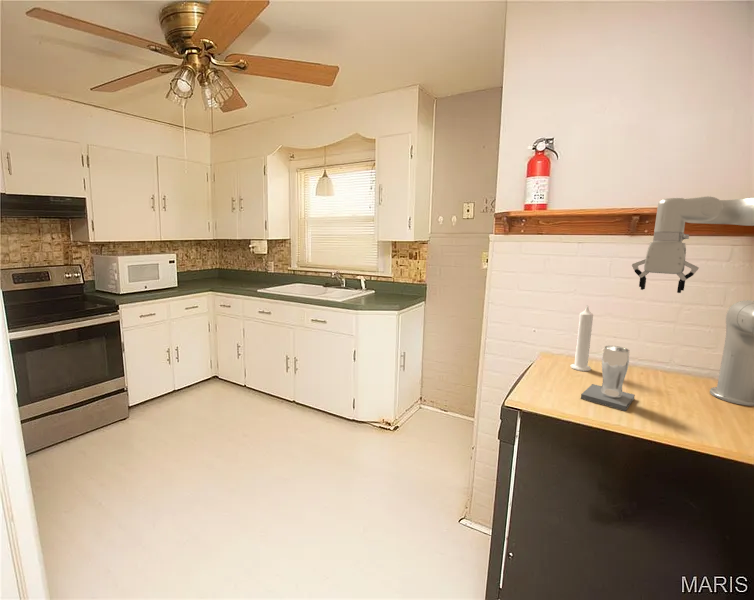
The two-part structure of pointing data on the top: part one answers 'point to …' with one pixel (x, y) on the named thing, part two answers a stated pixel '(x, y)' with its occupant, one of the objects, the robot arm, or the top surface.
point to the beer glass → (614, 370)
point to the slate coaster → (607, 398)
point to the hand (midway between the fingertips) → (660, 290)
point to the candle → (583, 341)
